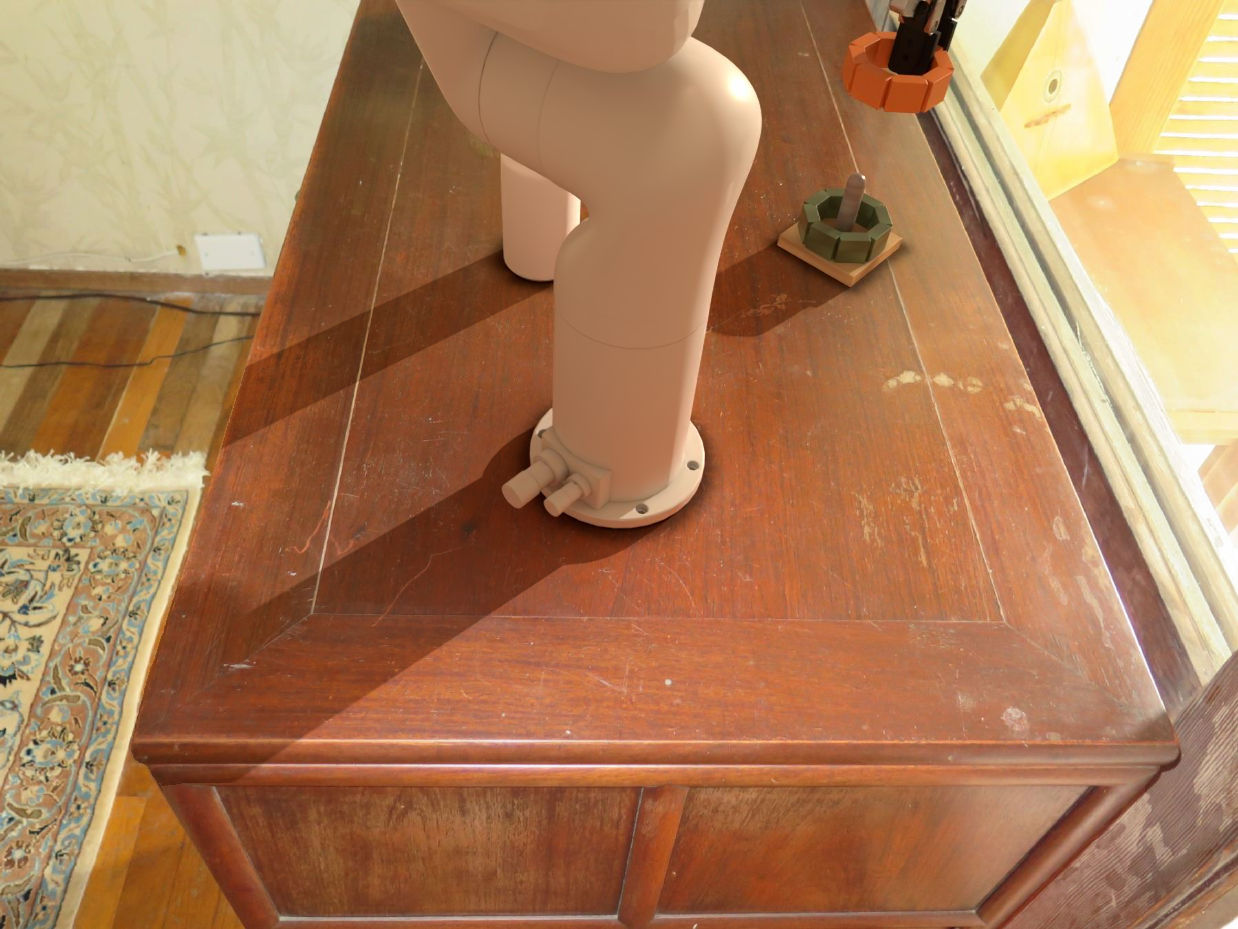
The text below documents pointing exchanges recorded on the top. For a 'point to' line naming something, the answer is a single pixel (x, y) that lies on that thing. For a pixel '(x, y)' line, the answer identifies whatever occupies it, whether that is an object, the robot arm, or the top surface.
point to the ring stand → (842, 232)
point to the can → (534, 220)
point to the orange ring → (893, 77)
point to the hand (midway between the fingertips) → (914, 68)
